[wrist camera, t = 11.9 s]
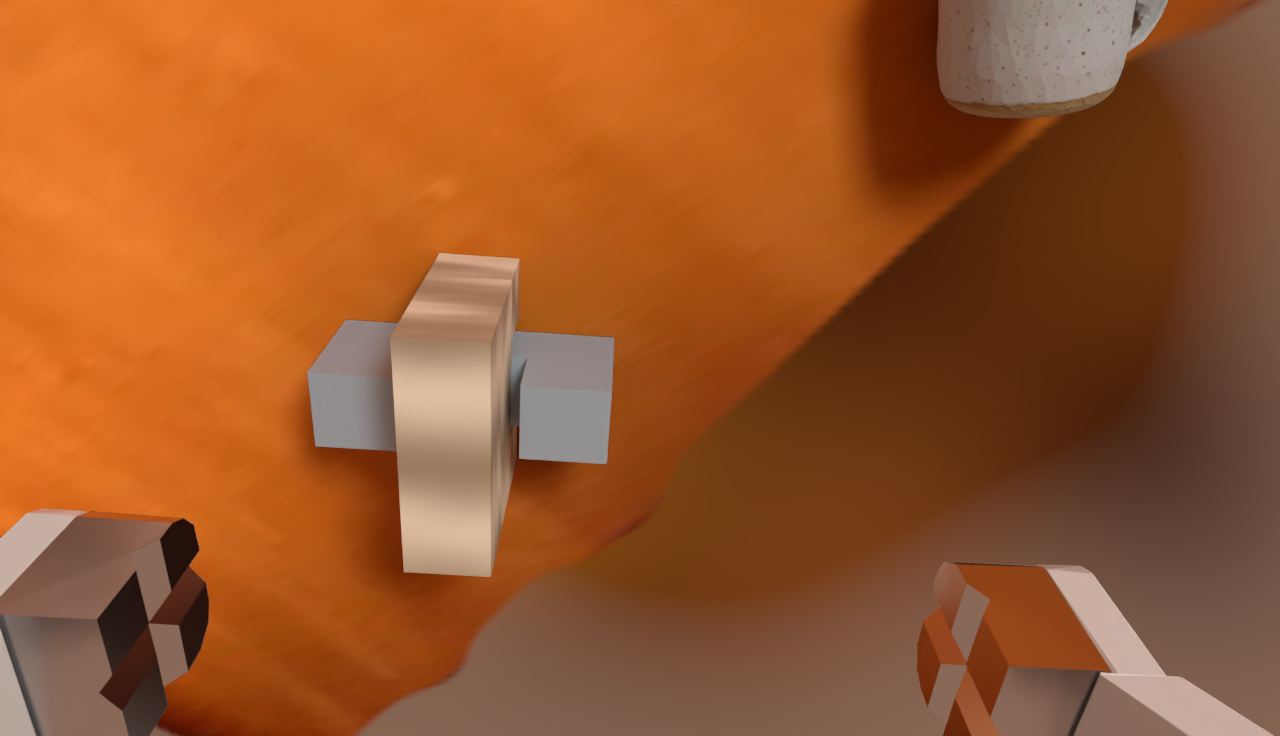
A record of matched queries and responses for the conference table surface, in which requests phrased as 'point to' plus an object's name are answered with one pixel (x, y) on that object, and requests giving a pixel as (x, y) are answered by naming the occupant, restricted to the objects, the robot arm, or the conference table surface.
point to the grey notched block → (540, 392)
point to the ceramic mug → (1036, 53)
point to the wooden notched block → (455, 413)
